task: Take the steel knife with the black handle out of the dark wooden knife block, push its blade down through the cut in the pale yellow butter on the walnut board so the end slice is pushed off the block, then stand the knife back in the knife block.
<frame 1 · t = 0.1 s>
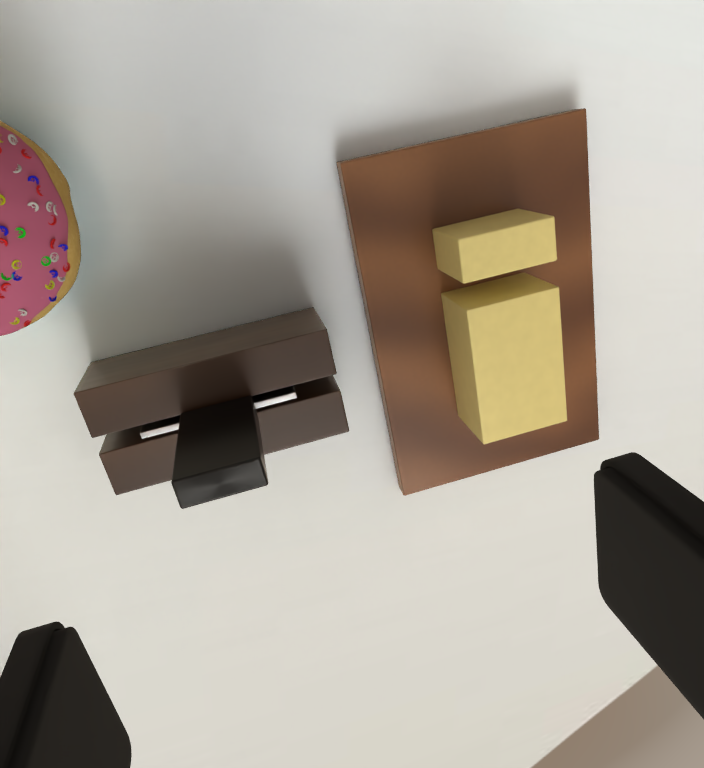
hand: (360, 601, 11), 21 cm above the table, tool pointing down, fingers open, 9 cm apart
knife: (219, 381, 31), resting in knife block
board: (479, 314, 33), on the table
butter slice: (477, 238, 30), point 1 cm above the table, touching board
knife block: (219, 381, 31), on the table
butter: (489, 346, 32), point 1 cm above the table, touching board
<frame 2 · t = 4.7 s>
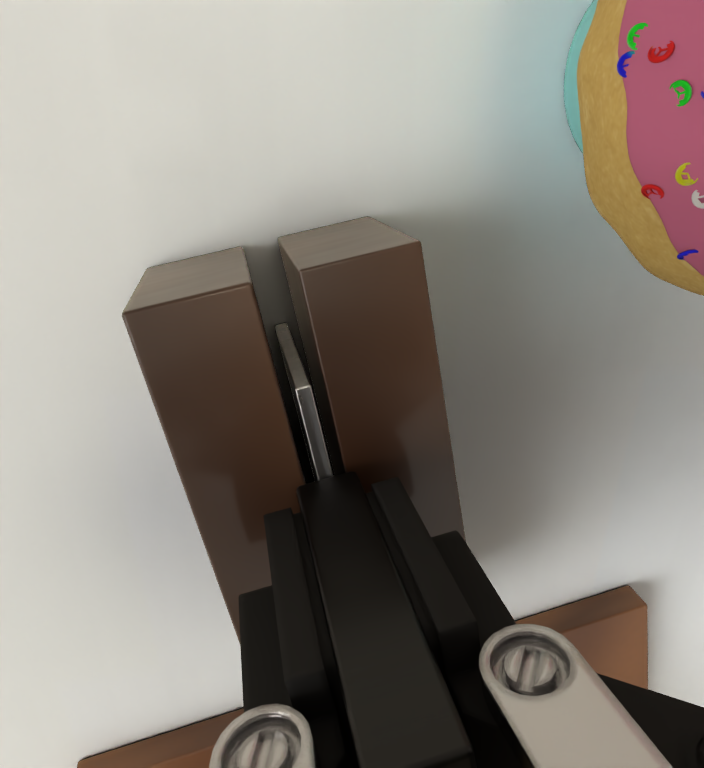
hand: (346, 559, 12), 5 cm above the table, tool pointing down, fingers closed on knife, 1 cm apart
knife: (312, 448, 16), resting in knife block, touching gripper
knife block: (312, 448, 16), on the table
cupcake: (652, 82, 15), on the table
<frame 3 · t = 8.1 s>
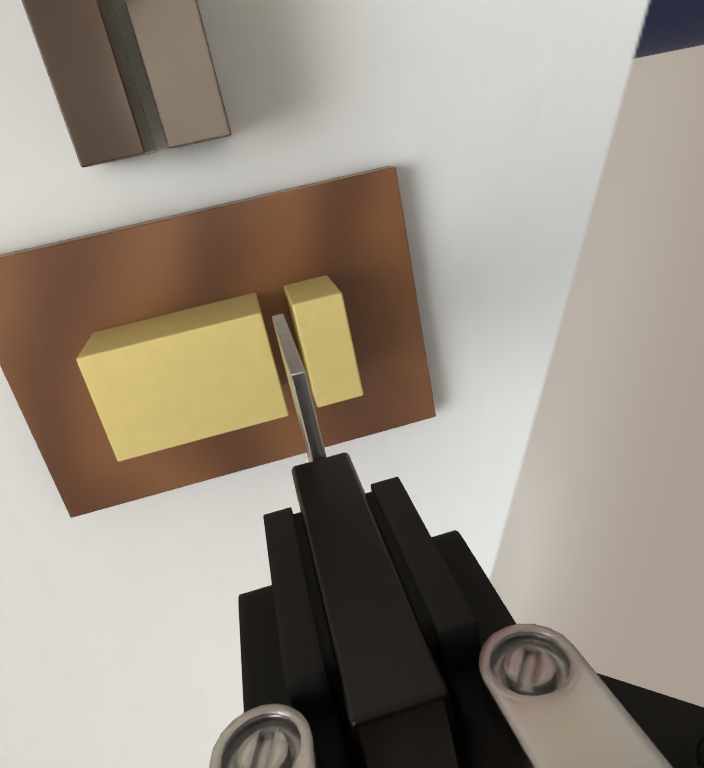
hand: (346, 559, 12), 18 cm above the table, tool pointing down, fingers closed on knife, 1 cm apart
knife: (307, 434, 17), point 12 cm above the table, touching gripper
board: (224, 344, 28), on the table
butter slice: (316, 327, 28), point 1 cm above the table, touching board
butter: (191, 360, 27), point 1 cm above the table, touching board
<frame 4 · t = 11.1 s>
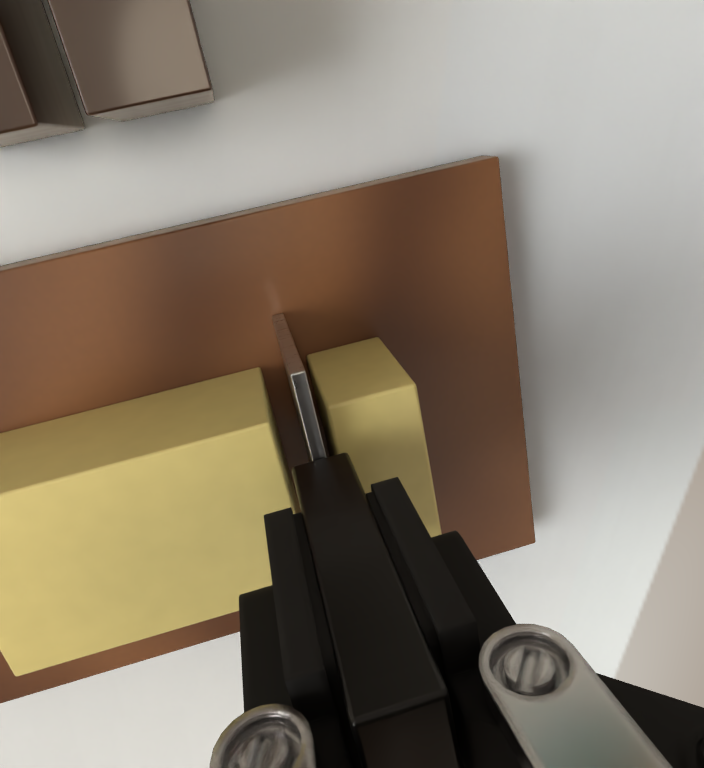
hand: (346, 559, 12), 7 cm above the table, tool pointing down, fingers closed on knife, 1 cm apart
knife: (307, 434, 17), point 1 cm above the table, touching board, gripper
board: (209, 443, 18), on the table
butter slice: (358, 419, 17), point 1 cm above the table, touching board
butter: (153, 474, 16), point 1 cm above the table, touching board
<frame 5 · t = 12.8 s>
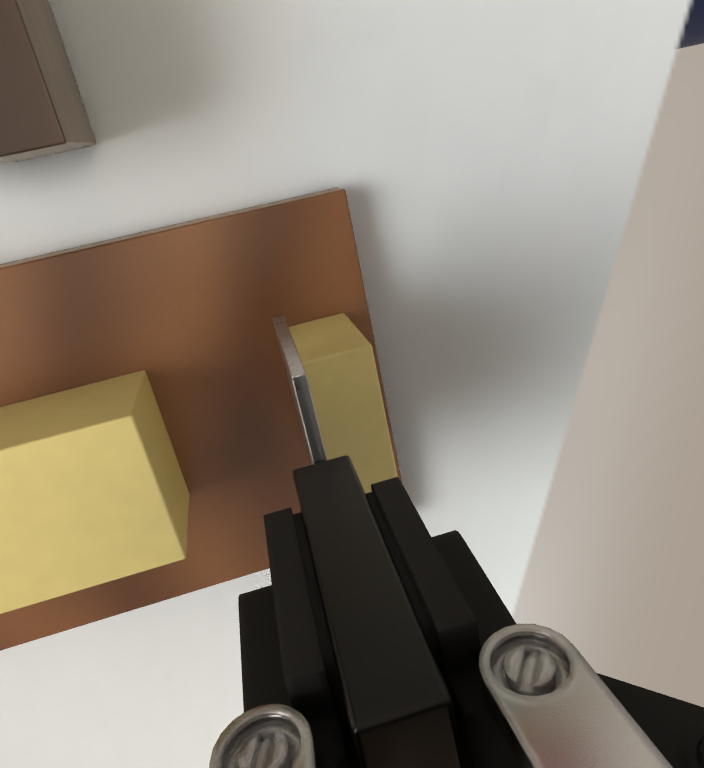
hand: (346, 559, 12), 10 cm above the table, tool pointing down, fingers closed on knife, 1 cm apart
knife: (308, 437, 17), point 4 cm above the table, touching gripper
board: (108, 438, 20), on the table
butter slice: (328, 385, 20), point 1 cm above the table, touching board
butter: (54, 465, 19), point 1 cm above the table, touching board
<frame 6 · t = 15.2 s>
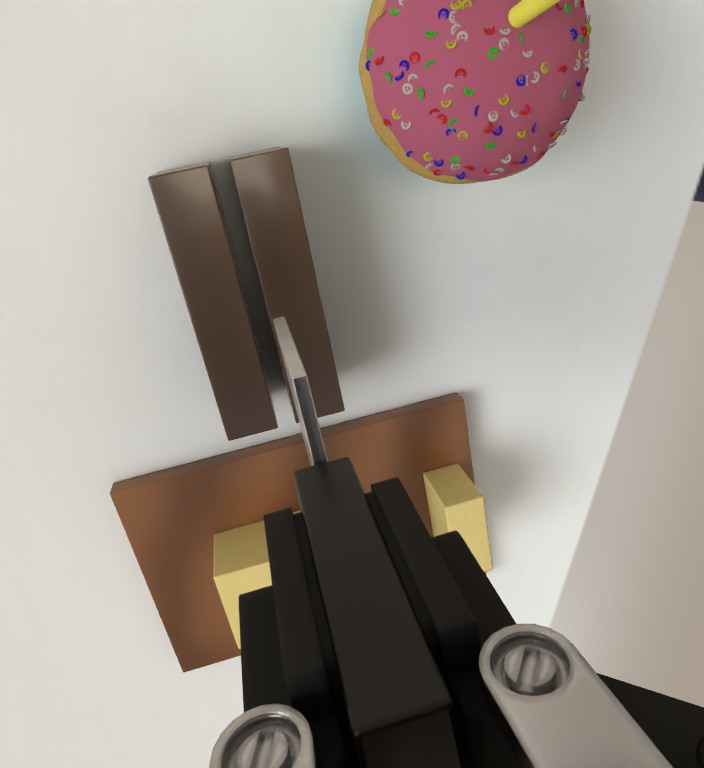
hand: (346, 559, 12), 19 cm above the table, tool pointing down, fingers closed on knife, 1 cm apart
knife: (309, 438, 17), point 13 cm above the table, touching gripper
board: (315, 531, 34), on the table
butter slice: (445, 502, 34), point 1 cm above the table, touching board
knife block: (251, 284, 28), on the table
cupcake: (436, 75, 27), on the table
butter: (290, 549, 33), point 1 cm above the table, touching board
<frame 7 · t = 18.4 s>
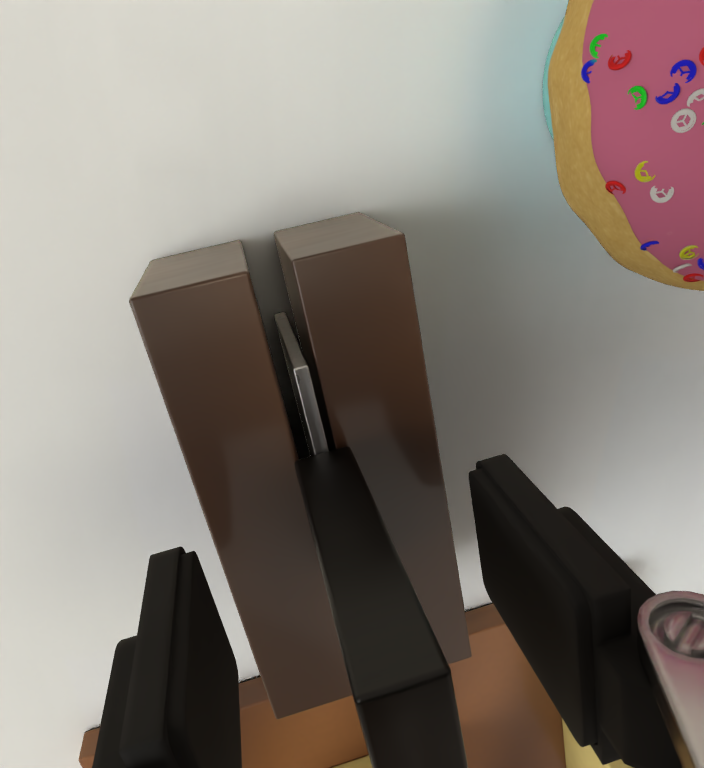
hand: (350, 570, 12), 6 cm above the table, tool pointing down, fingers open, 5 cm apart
knife: (309, 431, 17), resting in knife block
board: (391, 764, 23), on the table
butter slice: (587, 721, 22), point 1 cm above the table, touching board
knife block: (306, 432, 17), on the table
cupcake: (627, 85, 16), on the table
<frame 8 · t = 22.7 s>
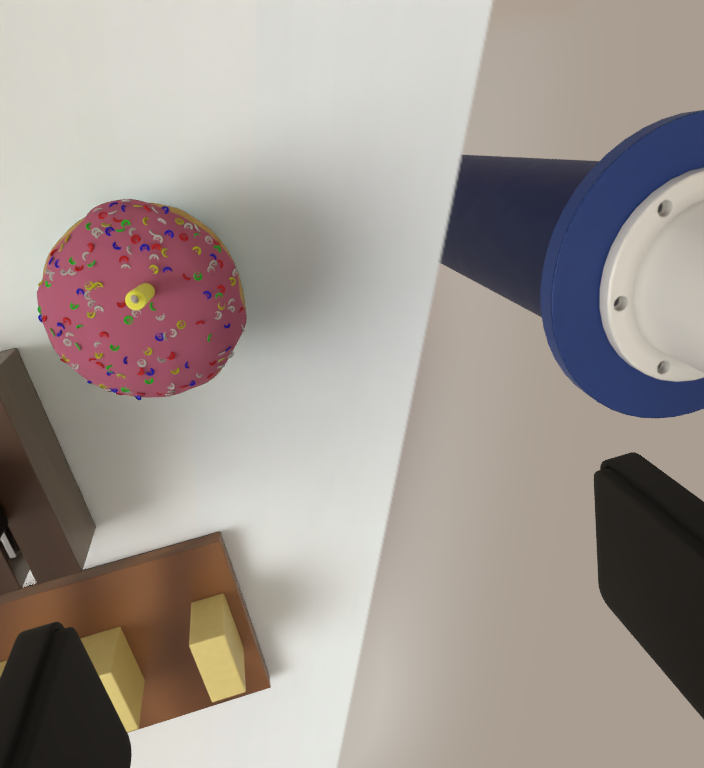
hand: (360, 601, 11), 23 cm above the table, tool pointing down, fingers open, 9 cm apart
knife: (10, 456, 32), resting in knife block
board: (102, 651, 38), on the table
butter slice: (218, 625, 38), point 1 cm above the table, touching board
knife block: (8, 456, 32), on the table
cupcake: (156, 282, 31), on the table
butter: (74, 671, 37), point 1 cm above the table, touching board
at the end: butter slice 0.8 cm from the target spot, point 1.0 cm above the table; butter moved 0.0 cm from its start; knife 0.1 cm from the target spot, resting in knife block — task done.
